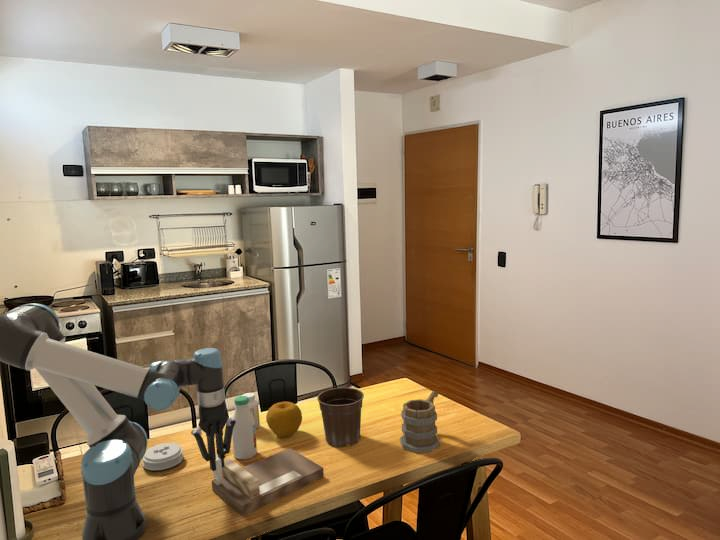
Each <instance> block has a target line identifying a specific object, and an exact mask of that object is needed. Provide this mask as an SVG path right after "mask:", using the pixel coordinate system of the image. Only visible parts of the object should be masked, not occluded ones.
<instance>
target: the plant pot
mask: <svg viewBox="0 0 720 540" xmlns="http://www.w3.org/2000/svg"><path fill="white" fill-rule="evenodd" d="M364 397H365V394H364V392H363V391H361V390H360V389H357V388H353V387H336V388H330V389H327V390H324V391H322V392H320V393H319V394H318V395H317V397H316V398H317V402H318V405H319V409H320V412H321V418H322V422H323V432H324V437H325V441H326V442H327V444H328V445H329V446H333V447H337V448H340V447H341V448H342V447H347V446H348V445H350V446H353V445H355V444H357V443H358V442H359V441H360V439H361V424H362V423H361V421H362V418H361V417H362V408H363V399H364Z"/></svg>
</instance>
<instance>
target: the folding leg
mask: <svg viewBox="0 0 720 540" xmlns="http://www.w3.org/2000/svg"><path fill="white" fill-rule="evenodd" d="M222 476H224V477H225V478H227V479H228V480H229V481H230V482H232V483H233V484H234V485H236V486H237V487H238V488H239V489H241V490H242V491H243V492H244V493H246V494H247V495H248V496H249V497H252V496H254V495H257V494H259V493H260V488H259V480H258V479H257V478H256V477H254V476H253V475H252V474H250V473H249V472H247V471H246V470H245V469H243V467H242V466H240V465H239V464H238V463H236V461H234V460H233V459H231V458H227V459H224V467H223V468H222Z"/></svg>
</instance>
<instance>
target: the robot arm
mask: <svg viewBox="0 0 720 540" xmlns="http://www.w3.org/2000/svg"><path fill="white" fill-rule="evenodd" d="M65 342H66V336H65V335H64V333H63V332H62V331H61V330H60V320H59V317H58V315H57V313H56V312H55V311H54V309H52V308H50V307H48V306H47V305H45V304H41V303H35V302H34V303H26V304H21V305H19V306H17V307H15V308H13V309H10V310H8V311H6V312H5V313H3V314H0V362H2V363H3V364H7V365H9V366H12V367H15V368H19V369H22V370H24V371H25V370H26V371H31V370H33V369H35V370H36V371H37V373H38V374H39V375H40V376H41V378H42V379H43V380H44V382H45V383H46V384H47V385H48V387H50V389H51V390H52V391H53V393H54V395H56V397H57V398H58V400H60V402H61V403H62V404H63V405H64V407H65V408H66V409H67V410H68V411H69V413H70V415H72V416H73V418H74V419H75V420H76V422H77V423H78V424H79V425H80V427H81V428H82V429H83V430H84V431H85V433H86V434H87V440H86V444H87V446H88V447H89V449H87V450H86V451H85V452H84V454H83V456H82V458H81V463H80V464H81V465H80V469H81V470H80V473H81V476H82V477H81V478H82V485H83V492H84V499H85V507H86V514H85V515H86V516H85V520H84V524H83V528H82V532H81V533H82V534H81V539H82V540H138V539H139V538H140V537H141V536H142V535H143V534H144V533H145V531H146V528H147V524H146V522H147V521H146V516H145V514H144V512H143V510H142V508H141V507H140V504H139V502H138V500H137V496H136V495H137V494H136V485H135V474H136V472H137V470H138V468H139V465H140V463H141V462H142V458H143V457H144V455H145V452H146V451H147V449H148V448H147V447H148V436H147V435H148V434H147V432H146V430H145V429H144V428H143V426H141V424H139V423H137V422H135V421H130V420H129V418H127V416H126V415H125V414H117V413H116V411H115V410H114V409H113V408H112V406H111V404H110V403H109V402H108V401H107V400H106V399H105V398H104V396H103V394H102V393H101V392H100V391H99V390H98V387H100V388H101V389H104V390H105V389H106V390H108V391H109V390H110V391H112V392H116V393H119V394H122V395H123V394H124V395H126V396H129V397H132V398H136V399H139V400H143V401H144V402H145V405H147V406H148V407H149V408H150V409H151V410H154V411H158V412H159V411H165V410H168V409H169V408H171V407H172V405H174V403H175V401H176V400H177V399H178V396H179V394H180V390H181V388H182V387H188V386H196V393H197V395H196V396H197V404H198V406H197V407H198V416H199V421H198V426H197V427H196V428H195V430H194V429H193V430H192V429H191V432H190V433H191V435H192V436H193V437H194V438H195V440H196V443H197V446H198V449H199V451H200V454H201V457H202V458H203V459H204V461H206V462H209V468H210V470H211V471H212V472H213V478H214V479H216V480H217V481H218V482H219V481H221V480H223V477H222V476H223V475H222V468H223V467H224V461H225V458H226V455H228V454H230V452H231V445H232V432H233V428H234V425H235V423H236V421H235V420H233V419H232V418H233V417H229V416H228V415H227V407H226V406H227V405H226V401H225V400H226V394H225V385H224V384H225V383H224V381H225V380H224V366H223V360H222V353H221V351H220V350H219V349H218V348H214V347H208V348H207V347H205V348H200V349H198V350H195V352H193V357H191V358H181V359H162V360H159V361H154V362H152V363H151V364H150V365H149V368H145V367H143V366H139V365H136V364H133V363H131V362H130V363H129V362H126V361H125V360H124V361H123V360H120V359H117V358H114V357H110V356H107V355H105V354H100V353H98V352H93V351H90V350H87V349H84V348H81V347H78V346H75V345H71V344H69V343H65ZM202 432H204V433H205V436H206V443H207V447H206V444H205V441H204V439H203V437H202V435H203V433H202Z"/></svg>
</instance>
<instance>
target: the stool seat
mask: <svg viewBox="0 0 720 540" xmlns="http://www.w3.org/2000/svg"><path fill="white" fill-rule="evenodd" d="M242 468H243V469H245V470H246V471H247V472H249V473H250V474H252V475H253V476H254V477H256V478H257V479H258V480H259V488H260V493H259V494H257V495H254V496H252V497H249V496H248V495H247V494H246V493H244V492H243V491H242V490H241V489H239V488H238V487H237V486H236V485H234V484H233V483H232V482H230V481H229V480H228V479H227V478H225V477H224V476H223V475H222V477H223V480H221V481H219V482H218V481H217V480H216V479H215V478H214V479H212V480H211V487H212V489H211V490H212V491H213V492H214V493H215V494H217V495H218V497H220V498H221V499H223V501H225V502H226V503H227V504H228V505H230V507H232V508H233V509H234V510H235V511H237V512H238V513H239V514H240V515H241V516H242V517H244V516H245V515H248V514H250V513H253V512H254V511H256V510H258V509H260V508H262V507H264V506H266V505H268V504H270V503H273V502H274V501H277V500H278V499H281V498H283V497H285V496H287V495H289V494H292V493H293V492H295V491H298V490H299V489H302V488H304V487H306V486H308V485H310V484H312V483H314V482H316V481H318V480H320V479H322V478H324V475H325V473H324V467H322V466H321V465H319V464H318V463H316V462H314V461H313V460H311V459H309V458H307V457H306V456H304V455H303V454H301V453H299V452H297V450H294V449H293V448H291V447H289V448H286V449H284V450H282V451H279V452H277V453H274V454H272V455H269V456H266V457H264V458H262V459H260V460H257V461H255V462H253V463H251V464H248V465H245V466H243V467H242Z"/></svg>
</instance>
